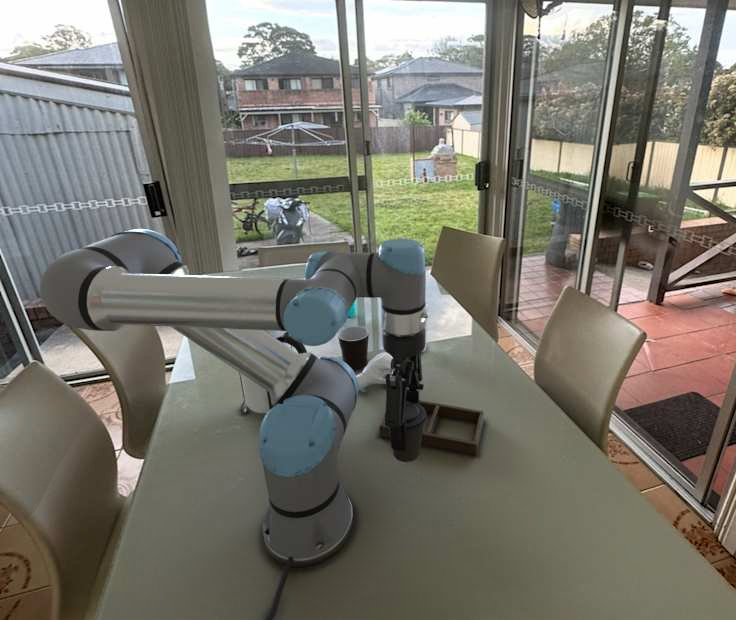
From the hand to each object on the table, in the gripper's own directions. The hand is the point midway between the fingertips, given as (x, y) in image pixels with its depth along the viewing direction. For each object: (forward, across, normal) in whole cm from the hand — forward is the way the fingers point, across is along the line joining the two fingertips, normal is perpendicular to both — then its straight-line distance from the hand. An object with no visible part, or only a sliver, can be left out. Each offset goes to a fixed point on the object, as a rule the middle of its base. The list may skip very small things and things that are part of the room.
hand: (405, 432), depth 85 cm
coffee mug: (+10, +36, +26) cm, 46 cm away
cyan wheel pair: (+10, +61, +43) cm, 75 cm away
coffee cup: (+5, 0, 0) cm, 5 cm away
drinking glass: (+10, +47, +11) cm, 49 cm away
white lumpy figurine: (+10, +26, +17) cm, 33 cm away
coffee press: (+10, +12, +37) cm, 40 cm away
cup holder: (+10, +14, -2) cm, 17 cm away
